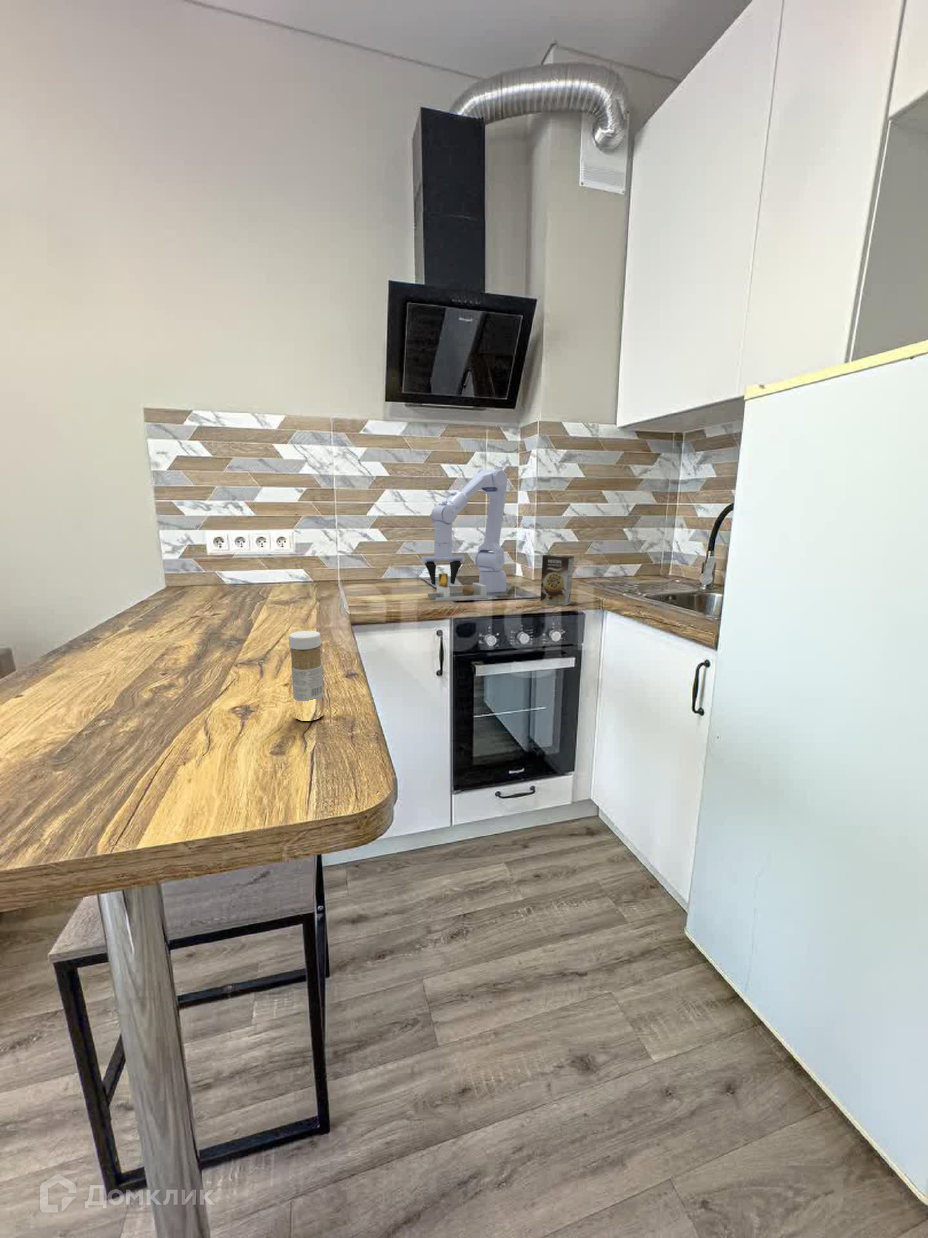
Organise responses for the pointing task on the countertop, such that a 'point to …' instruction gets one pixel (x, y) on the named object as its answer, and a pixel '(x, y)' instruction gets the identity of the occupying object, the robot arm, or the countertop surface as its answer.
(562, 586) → the coffee box
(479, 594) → the cracker base
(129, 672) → the countertop surface
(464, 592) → the walnut
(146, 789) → the countertop surface
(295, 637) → the spice jar
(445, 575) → the cracker jaw
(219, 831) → the countertop surface
